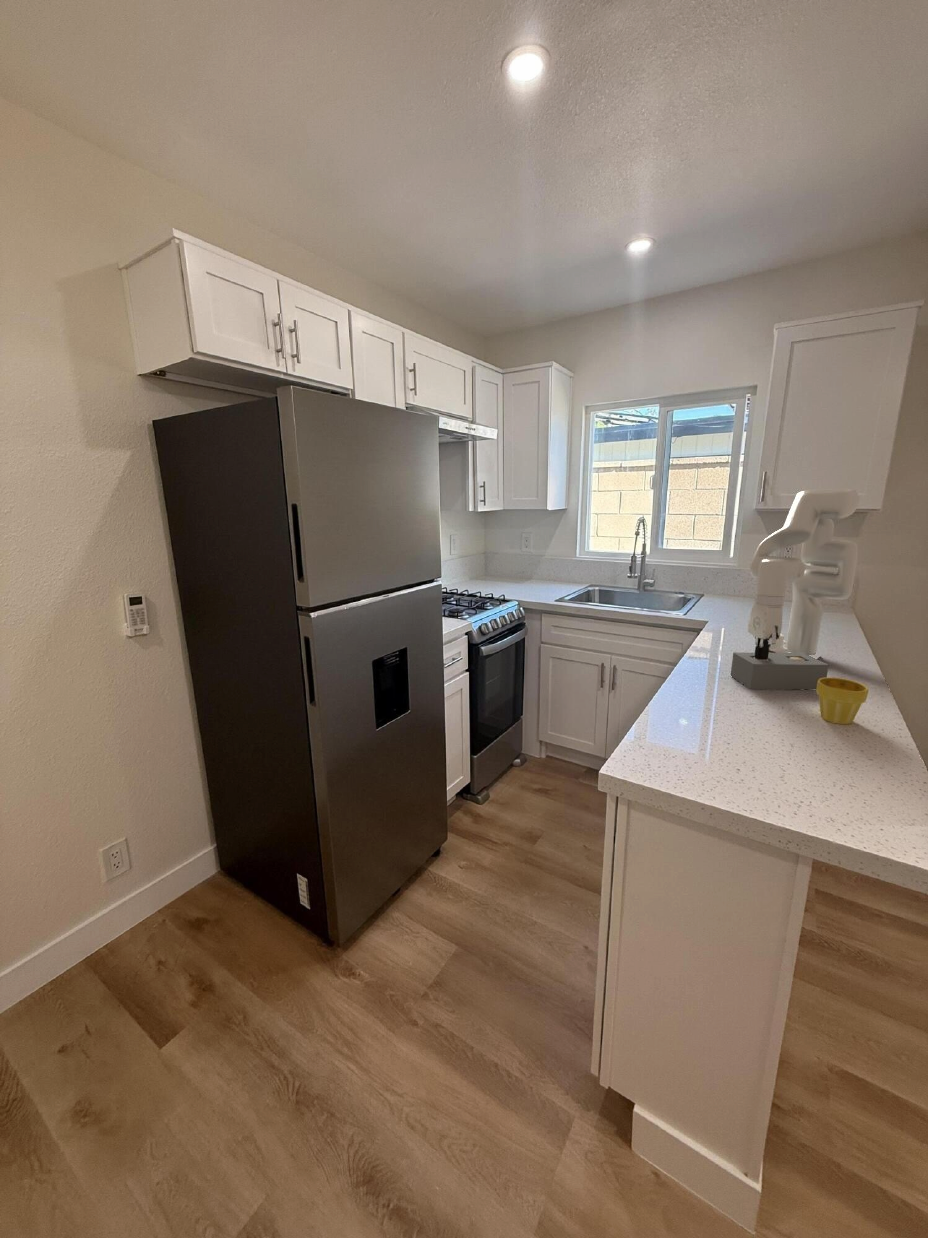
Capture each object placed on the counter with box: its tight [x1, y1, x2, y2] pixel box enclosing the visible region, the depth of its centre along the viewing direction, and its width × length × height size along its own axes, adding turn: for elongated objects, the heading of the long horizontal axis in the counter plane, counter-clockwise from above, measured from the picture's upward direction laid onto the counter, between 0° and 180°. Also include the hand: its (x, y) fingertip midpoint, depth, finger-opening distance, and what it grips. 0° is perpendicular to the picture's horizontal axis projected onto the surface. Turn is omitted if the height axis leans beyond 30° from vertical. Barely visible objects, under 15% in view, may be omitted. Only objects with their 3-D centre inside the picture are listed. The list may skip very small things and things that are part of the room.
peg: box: [790, 657, 805, 661], centre depth 154 cm, size 4×4×7 cm
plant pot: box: [815, 676, 869, 725], centre depth 127 cm, size 10×10×10 cm
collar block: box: [730, 651, 830, 690], centre depth 154 cm, size 12×22×8 cm, turn 88°
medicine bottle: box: [754, 633, 789, 653], centre depth 169 cm, size 7×7×12 cm
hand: (760, 658), depth 153 cm, fingers closed
